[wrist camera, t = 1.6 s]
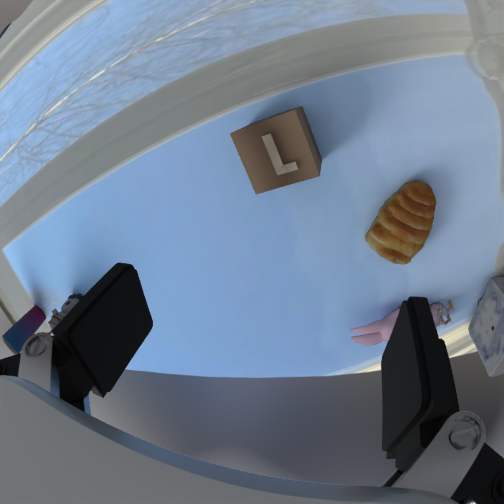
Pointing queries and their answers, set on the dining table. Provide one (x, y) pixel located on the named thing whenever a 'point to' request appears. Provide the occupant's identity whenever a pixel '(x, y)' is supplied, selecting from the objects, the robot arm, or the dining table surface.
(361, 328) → the rabbit figure
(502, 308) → the incense holder
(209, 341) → the dining table surface
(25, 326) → the cup
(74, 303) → the figurine
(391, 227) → the pastry
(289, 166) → the lettered block
